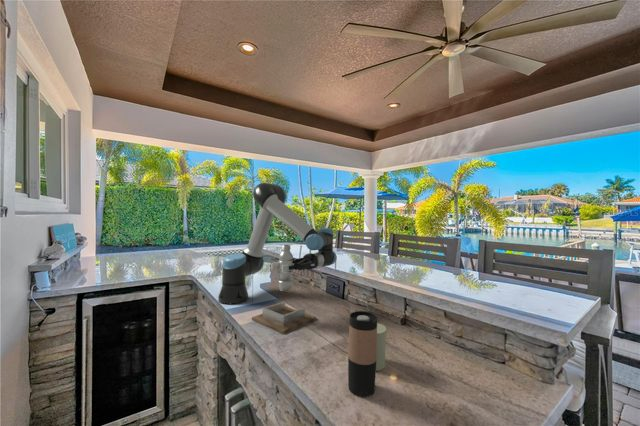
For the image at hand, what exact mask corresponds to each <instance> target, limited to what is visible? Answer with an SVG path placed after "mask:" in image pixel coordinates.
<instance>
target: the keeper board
mask: <svg viewBox="0 0 640 426" xmlns="http://www.w3.org/2000/svg"><path fill="white" fill-rule="evenodd" d="M297 310H298V309H295V308H293V307H289V306H286V305H285V310H284V311H282V312H279V314H282V315H286V314H289V313H291V312H294V311H297ZM316 320H317V316H315V315H312V314H309V313H307V312H305V318H302V319H300V320H297V321H295V322H292V323H290V324H287V325H285V326H282V325H280V324H277V323H275V322H273V321H270V320H268V319H266V318H263V313H260V314H258V315H257V314H256V315H254V316H252V317H251V321H253V322H256V323H258V324H259V323H260V325H261V324H262V326H263V327H265V328H268V329H270V330H273V331H275V332H277V333H280V334H282V335H284V334H285V335H286V333H287V334H288V333H290V332H291V331H293V330H296V329H297V328H300V327H302V326H304V325H307V324H309V323H312V322H314V321H316Z"/></svg>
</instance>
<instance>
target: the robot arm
mask: <svg viewBox="0 0 640 426" xmlns="http://www.w3.org/2000/svg"><path fill="white" fill-rule="evenodd" d="M252 192H253V193H252V195H253V197H252V198H253V199H254V202H255V203H256V204H258V206H259V211H258V214H257V217H256V220H255V223H254V226H253V229H252V231H251V235H250V238H249V241H248V245H247V247H245V248H244V249H243V251H242V253H234V254H228V255H227V256H225V257H223V260H222V264H221V266H222V274H221V275H222V279H221V280H222V283H221V285H222V286H221V288H220V291H219V294H218V297H217V298H218V300H217V301H218V302H219V303H220V302H221V304H223V303H227V304H226V305H231V304H230V303H238V304H241V303H242V304H243V303H245V302H247V301H248V300H249V293H248V289H247V287H246V277H248V276H251V275H255V274H257V273H259V272H260V271H261V270H262V269H263V267H264V265H265V260H264V253H263V249H264V246H265V244H266V240H267V238H268V234H269V232H270V230H271V226H272V223H273V220H274V218H275V217H276V219H278V220H279V221H280V222H281V223H282V224H284V225H285V227H287V228H288V229H289V230H291V231H292V232H293V233H294V234H295V235H296V236H298V237H299V238H300V239H301V240H302V241H303V242H305V245H306V248H307V250H308V249H309V250H310V251H317V252H312V253H306V254H304V255H303V256H302V257H299V258H295V257H293V263H292V264H287V265H282V272H286V271H291V270H292V271H294V270H295V271H297V270H298V271H303V270H308V271H309V270H314V269H315V270H318V268H322V267H328V266H331V265H332V266H333V265H334V264H335V263H336V262H337V254H336V252H335V251H334V250H333V249H334V245H333V244H334V230H333V228H330V227H327V228H326V227H323V228H322V227H321V228H319V229H318V231H317V230H316V229H315V228H314V227H313V226H311V225H310V224H309V223H308V222H306V221H305V220H304V219H303V218H302V217H301V216H299V215H298V214H297V213H296V212H294V211H293V210H292V209H291V208H290V207H288V206H287V205H286V204H285V203H286V200H287V193H286V190H285V188H284V187H282V186H280V185H278V184H276V183H275V184H274V183H269V182H261V183H259V184H257V185H256V186H254V189H253V191H252ZM270 264H271V265H270V269H271V270H276V269H280V268H279V261H276V262H271V263H270ZM228 303H229V304H228Z"/></svg>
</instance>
